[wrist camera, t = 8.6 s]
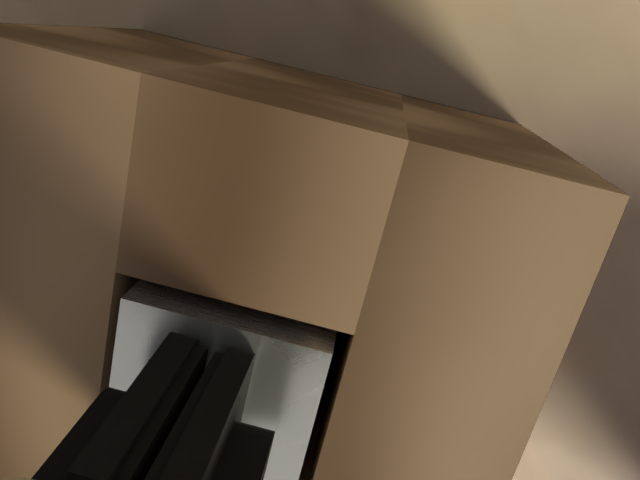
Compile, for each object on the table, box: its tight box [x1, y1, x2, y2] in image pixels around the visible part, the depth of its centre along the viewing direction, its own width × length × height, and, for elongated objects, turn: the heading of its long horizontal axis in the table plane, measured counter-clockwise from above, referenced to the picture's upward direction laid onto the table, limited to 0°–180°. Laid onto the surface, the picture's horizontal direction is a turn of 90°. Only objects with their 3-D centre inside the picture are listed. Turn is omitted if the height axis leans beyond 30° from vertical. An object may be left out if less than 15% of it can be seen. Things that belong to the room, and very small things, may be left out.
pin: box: [109, 279, 337, 480], centre depth 15 cm, size 4×4×8 cm
